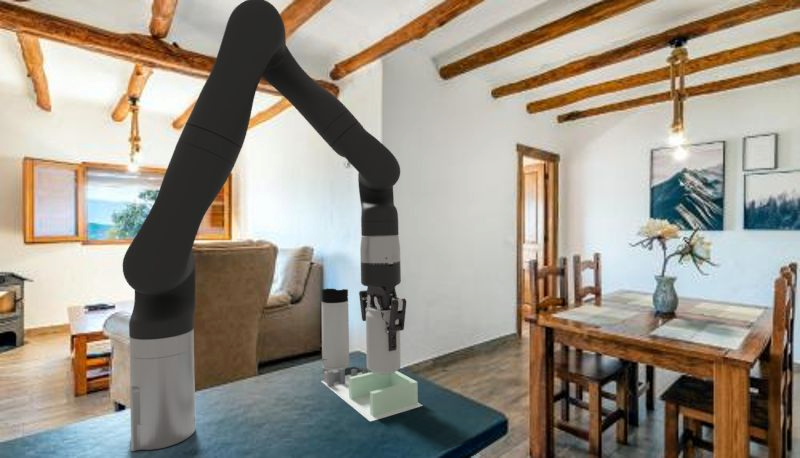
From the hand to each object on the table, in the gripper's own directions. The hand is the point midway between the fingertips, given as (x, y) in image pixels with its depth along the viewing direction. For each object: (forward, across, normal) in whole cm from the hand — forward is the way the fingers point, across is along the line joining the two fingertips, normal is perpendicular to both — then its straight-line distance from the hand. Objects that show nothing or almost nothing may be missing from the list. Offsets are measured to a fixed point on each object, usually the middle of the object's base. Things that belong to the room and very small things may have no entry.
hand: (382, 348), depth 79 cm
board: (+11, -5, -1) cm, 12 cm away
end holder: (+10, 0, 0) cm, 10 cm away
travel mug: (+11, -23, 0) cm, 26 cm away
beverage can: (+4, 0, 0) cm, 4 cm away
